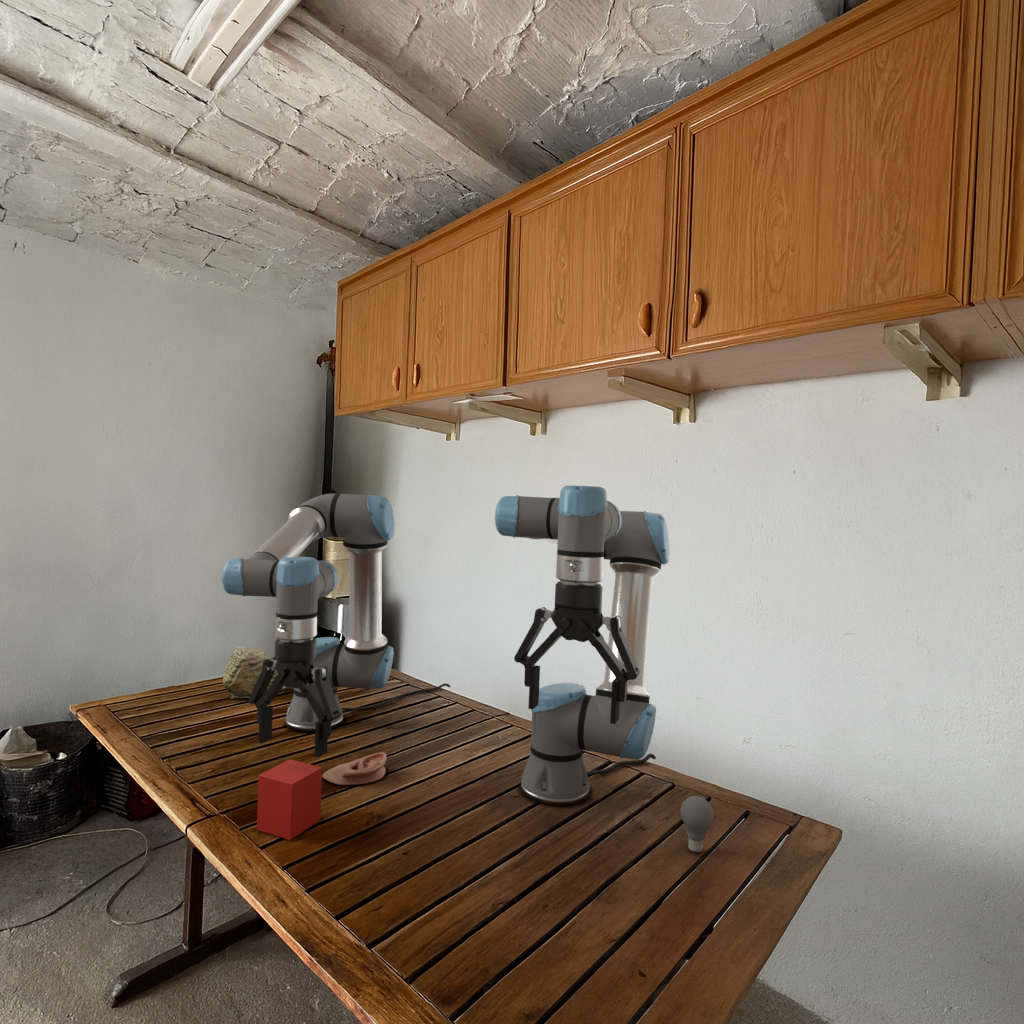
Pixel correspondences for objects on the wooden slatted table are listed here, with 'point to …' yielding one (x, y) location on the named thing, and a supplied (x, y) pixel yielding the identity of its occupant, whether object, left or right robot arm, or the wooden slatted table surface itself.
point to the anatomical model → (358, 770)
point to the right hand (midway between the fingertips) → (573, 714)
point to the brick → (289, 799)
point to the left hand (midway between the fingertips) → (292, 747)
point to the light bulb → (696, 820)
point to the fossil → (245, 672)
